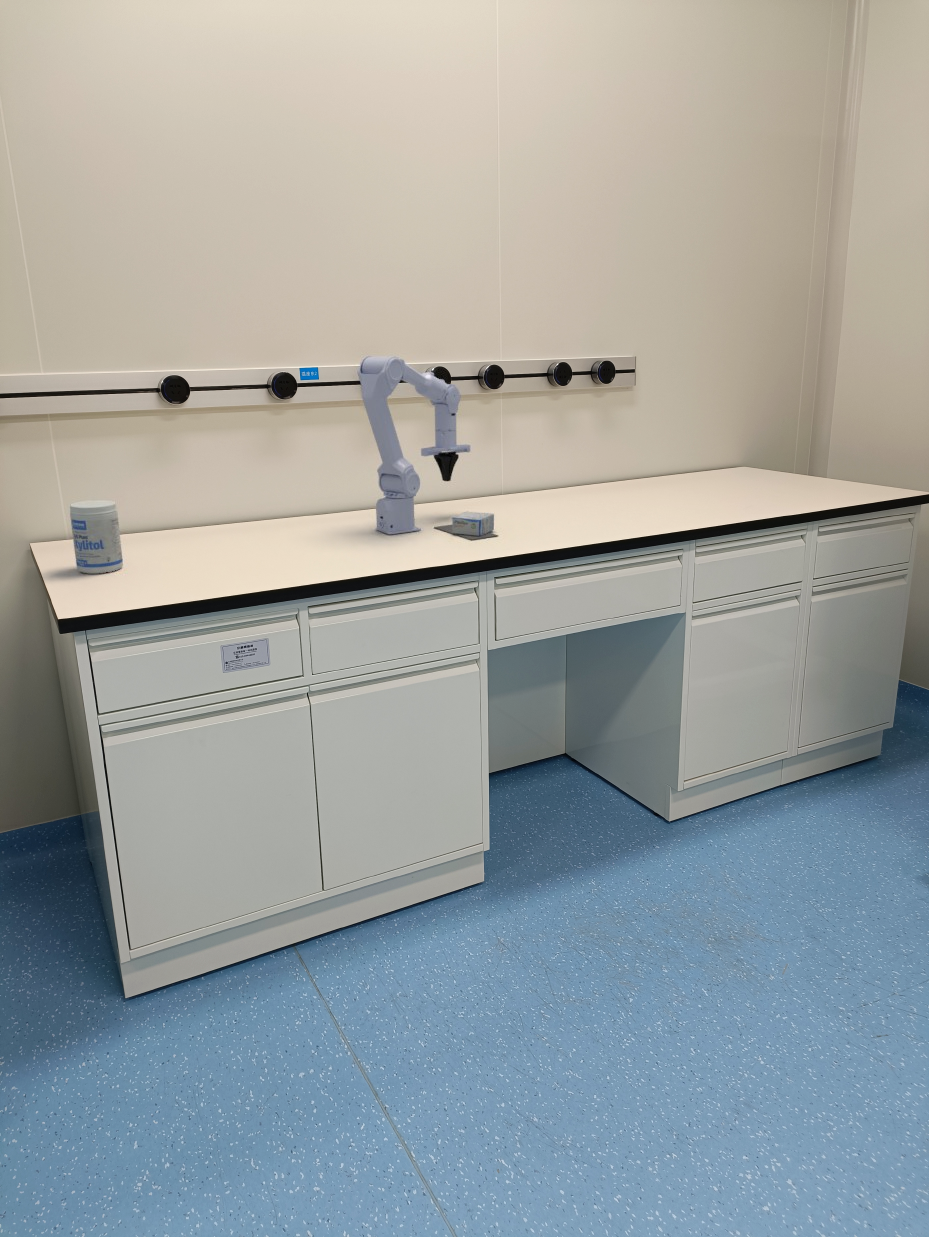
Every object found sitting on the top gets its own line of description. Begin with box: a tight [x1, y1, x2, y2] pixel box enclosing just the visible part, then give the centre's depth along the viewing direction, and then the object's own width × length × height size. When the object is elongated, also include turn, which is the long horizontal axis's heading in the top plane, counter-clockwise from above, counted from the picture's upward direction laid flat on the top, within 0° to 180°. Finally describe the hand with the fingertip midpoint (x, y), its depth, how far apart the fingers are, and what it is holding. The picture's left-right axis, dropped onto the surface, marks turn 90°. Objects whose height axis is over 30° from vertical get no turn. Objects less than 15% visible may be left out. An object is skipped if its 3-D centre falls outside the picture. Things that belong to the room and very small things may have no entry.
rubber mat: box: [433, 524, 499, 541], centre depth 230 cm, size 8×18×1 cm, turn 33°
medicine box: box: [451, 511, 495, 536], centre depth 228 cm, size 8×4×9 cm
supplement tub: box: [69, 499, 124, 575], centre depth 195 cm, size 10×10×15 cm
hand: (446, 480), depth 244 cm, fingers closed
